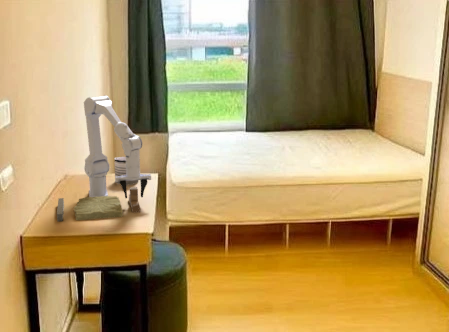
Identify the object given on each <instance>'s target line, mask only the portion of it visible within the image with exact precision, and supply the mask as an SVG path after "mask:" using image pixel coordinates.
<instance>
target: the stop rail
mask: <svg viewBox="0 0 449 332" xmlns="http://www.w3.org/2000/svg"><path fill="white" fill-rule="evenodd" d="M64 199H65V198H64V197H61V198H60V197H59V198H58V199H57V210H56V221H57V222H63V220H64V207H65V201H64Z"/></svg>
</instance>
